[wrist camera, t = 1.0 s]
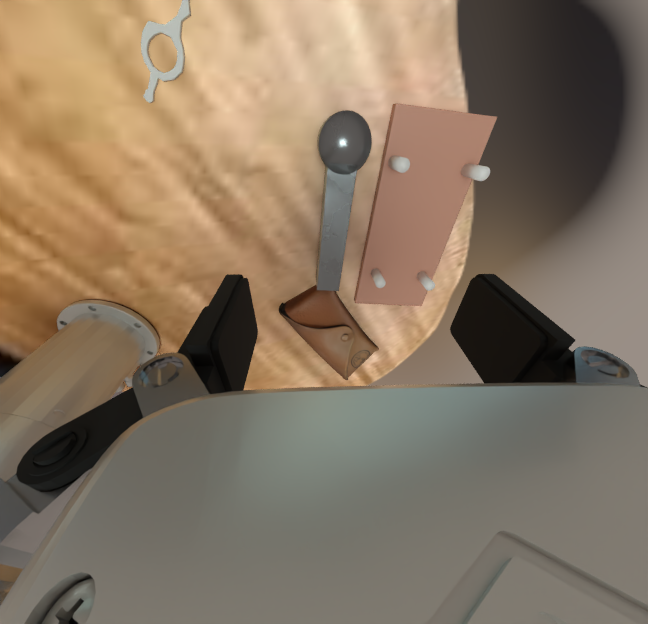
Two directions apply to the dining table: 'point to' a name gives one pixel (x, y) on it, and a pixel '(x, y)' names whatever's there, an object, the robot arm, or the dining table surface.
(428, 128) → the peg rack
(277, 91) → the dining table surface
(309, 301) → the sunglasses case
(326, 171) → the grey spoon
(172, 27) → the scissors
